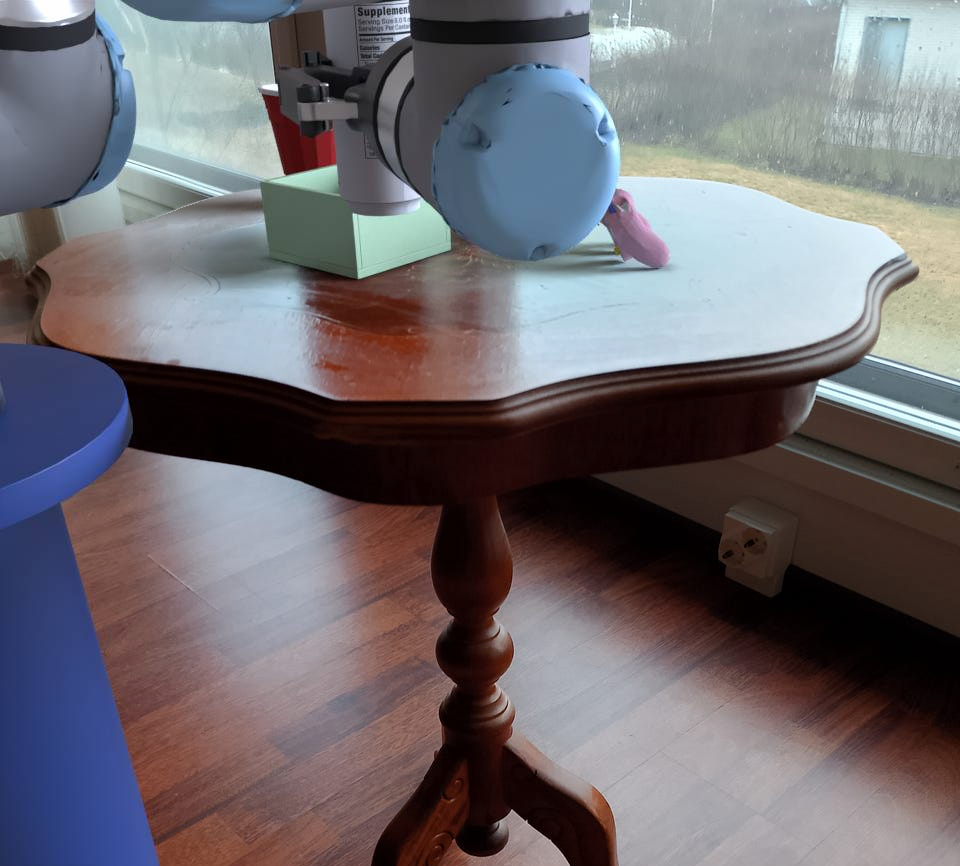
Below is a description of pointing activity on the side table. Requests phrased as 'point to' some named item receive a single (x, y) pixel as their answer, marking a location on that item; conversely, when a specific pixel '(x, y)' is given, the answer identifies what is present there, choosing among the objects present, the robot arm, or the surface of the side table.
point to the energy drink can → (360, 173)
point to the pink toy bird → (633, 232)
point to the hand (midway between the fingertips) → (360, 69)
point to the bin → (343, 228)
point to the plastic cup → (296, 139)
